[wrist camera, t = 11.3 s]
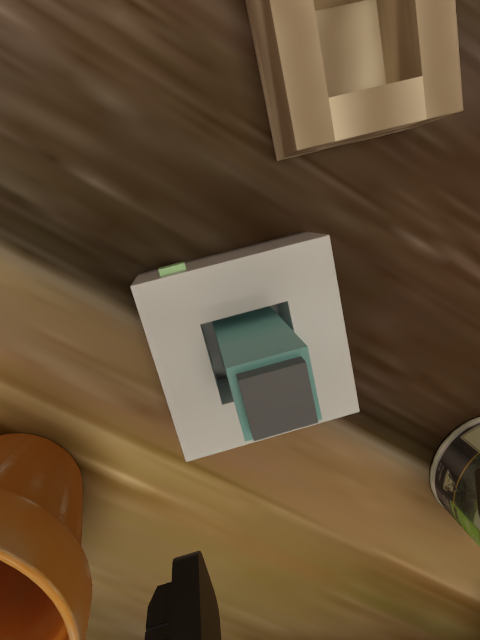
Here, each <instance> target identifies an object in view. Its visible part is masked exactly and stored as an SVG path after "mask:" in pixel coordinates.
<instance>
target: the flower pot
mask: <svg viewBox="0 0 480 640" xmlns="http://www.w3.org/2000/svg"><path fill="white" fill-rule="evenodd" d="M82 502H83V483H82V476H81V472H80V470H79V467H78V466H77V464H76V462H75V461H74V459H73V458H72V456H71V455H70V454H69V453H68V452H67V451H66V450H65V449H63V448H62V447H61V446H59V445H57V444H56V443H54V442H52V441H50V440H49V439H46V438H43V437H40V436H37V435H32V434H24V433H12V434H4V435H0V640H85V636H86V631H87V626H88V620H89V614H90V607H91V598H92V581H91V573H90V568H89V565H88V561H87V558H86V556H85V554H84V551H83V549H82V548H81V536H82Z"/></svg>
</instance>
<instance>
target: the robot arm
mask: <svg viewBox="0 0 480 640" xmlns="http://www.w3.org/2000/svg"><path fill="white" fill-rule="evenodd" d="M475 484H476V494H477V505H478V513H479V517H480V468H477V469H476V470H475ZM145 640H221V629H220V618H219V610H218V605H217V600H216V596H215V592H214V589H213V586H212V583H211V580H210V577H209V574H208V571H207V568H206V565H205V562H204V559H203V556H202V553H201V551H197V552H193V553H190V554H187V555H183V556H180V557H177V558H174V559H173V564H172V582H170V583H166V584H163V585H160V586H157V588H156V590H155V593H154V595H153V597H152V599H151V601H150V603H149V606H148V611H147V621H146V632H145Z"/></svg>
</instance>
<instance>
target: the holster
mask: <svg viewBox="0 0 480 640" xmlns="http://www.w3.org/2000/svg"><path fill="white" fill-rule="evenodd" d="M245 2H246V7H247V12H248V17H249V22H250V27H251V32H252V37H253V42H254V47H255V52H256V58H257V63H258V68H259V73H260V78H261V83H262V88H263V93H264V98H265V103H266V108H267V113H268V118H269V123H270V129H271V134H272V139H273V144H274V149H275V154H276V159H277V161H280V160H284V159H288V158H292V157H297V156H301V155H305V154H309V153H313V152H317V151H321V150H326V149H330V148H334V147H338V146H342V145H346V144H350V143H354V142H359V141H363V140H367V139H371V138H375V137H379V136H383V135H388V134H392V133H396V132H400V131H404V130H408V129H412V128H416V127H419V126H422V125H425V124H427V123H430V122H433V121H436V120H438V119H441V118H444V117H447V116H449V115H452V114H455V113H458V112H461V111H463V100H462V86H461V73H460V59H459V45H458V32H457V18H456V5H455V0H245Z"/></svg>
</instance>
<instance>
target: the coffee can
mask: <svg viewBox="0 0 480 640" xmlns="http://www.w3.org/2000/svg"><path fill="white" fill-rule="evenodd" d="M477 468H480V417H478V418H475V419H472V420H470V421H468V422H466V423H464V424H463V425H461V426H460V427H458V428H457V429H455V430H454V431H453V432H452V433H451V434H450V435H449V436H448V437H447V438H446V439H445V440H444V442H443V443H442V444H441V445H440V447H439V449H438V450H437V452H436V454H435V456H434V459H433V462H432V465H431V469H430V484H431V489H432V492H433V494H434V496H435V498H436V500H437V501H438V503H440V505H441V506H442V507H444V508H445V509H446V510H447V511H448V512H449V513H450V514H451V515H452V517H453V518H454V519H455V520H456V521H457V522H458V523H459V524H460V525H461V526H462V527H463V529H464V530H465V531H466V532H467V533H468V534H469V535H470V536H471V538H472V539H473V540H474V541H475V542H476V543H477V544H478V545H479V546H480V517H479V513H478V505H477V494H476V484H475V470H476V469H477Z"/></svg>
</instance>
